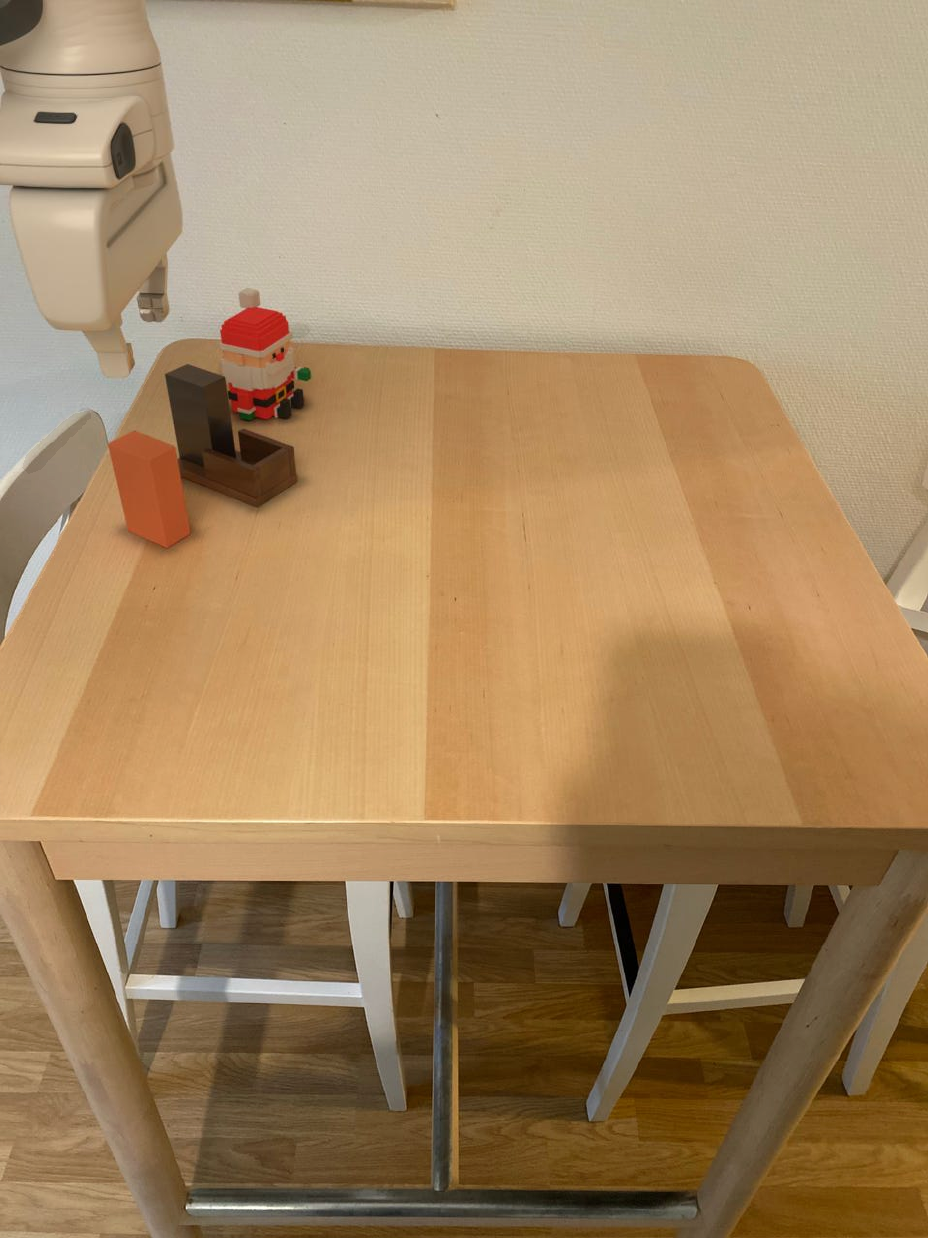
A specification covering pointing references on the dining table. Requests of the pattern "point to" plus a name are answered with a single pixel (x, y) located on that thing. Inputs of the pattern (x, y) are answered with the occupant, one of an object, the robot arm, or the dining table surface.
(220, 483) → the mount
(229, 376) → the figurine
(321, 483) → the dining table surface
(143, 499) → the orange rectangular block
